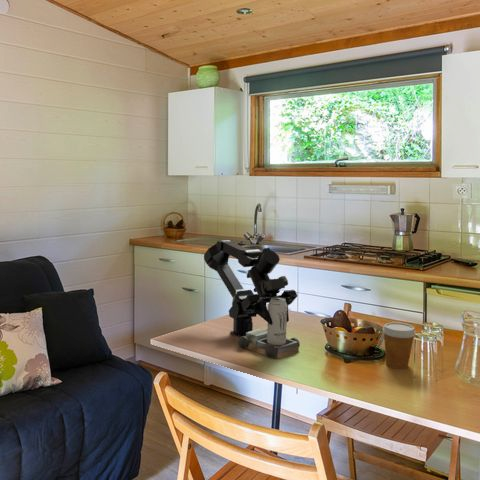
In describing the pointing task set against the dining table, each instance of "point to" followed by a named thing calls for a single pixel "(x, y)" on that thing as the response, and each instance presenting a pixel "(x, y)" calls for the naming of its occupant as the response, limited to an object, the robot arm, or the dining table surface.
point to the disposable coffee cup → (398, 344)
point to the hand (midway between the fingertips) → (279, 322)
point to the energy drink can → (277, 322)
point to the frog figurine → (381, 340)
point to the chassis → (259, 343)
